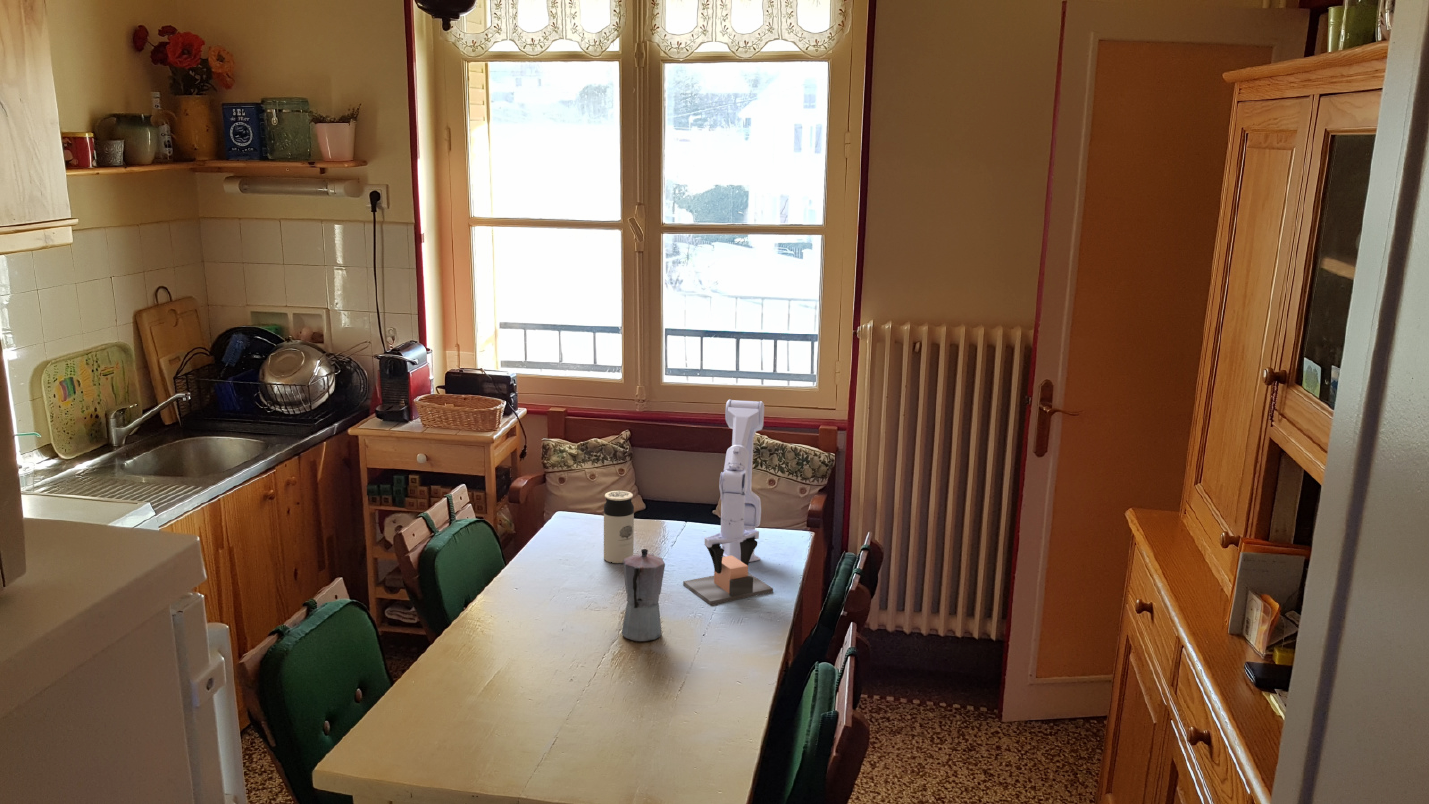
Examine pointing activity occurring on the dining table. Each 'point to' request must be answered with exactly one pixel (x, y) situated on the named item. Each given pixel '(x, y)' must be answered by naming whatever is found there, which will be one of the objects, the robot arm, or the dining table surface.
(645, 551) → the moka pot
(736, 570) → the slotted block
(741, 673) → the dining table surface
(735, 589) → the rail board
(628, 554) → the travel mug
